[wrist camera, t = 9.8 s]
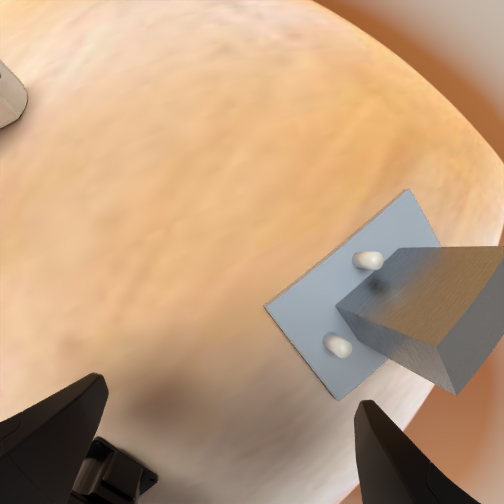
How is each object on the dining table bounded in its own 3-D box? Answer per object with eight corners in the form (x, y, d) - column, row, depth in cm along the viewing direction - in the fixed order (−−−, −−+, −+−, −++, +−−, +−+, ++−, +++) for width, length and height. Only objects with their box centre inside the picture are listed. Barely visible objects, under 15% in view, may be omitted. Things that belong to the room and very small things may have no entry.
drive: (359, 342, 22) (457, 397, 11) (334, 305, 21) (435, 346, 10) (419, 284, 22) (525, 300, 12) (399, 247, 22) (510, 246, 11)
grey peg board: (334, 397, 22) (351, 415, 19) (263, 305, 21) (273, 315, 18) (452, 282, 24) (476, 285, 21) (404, 189, 23) (428, 182, 20)
